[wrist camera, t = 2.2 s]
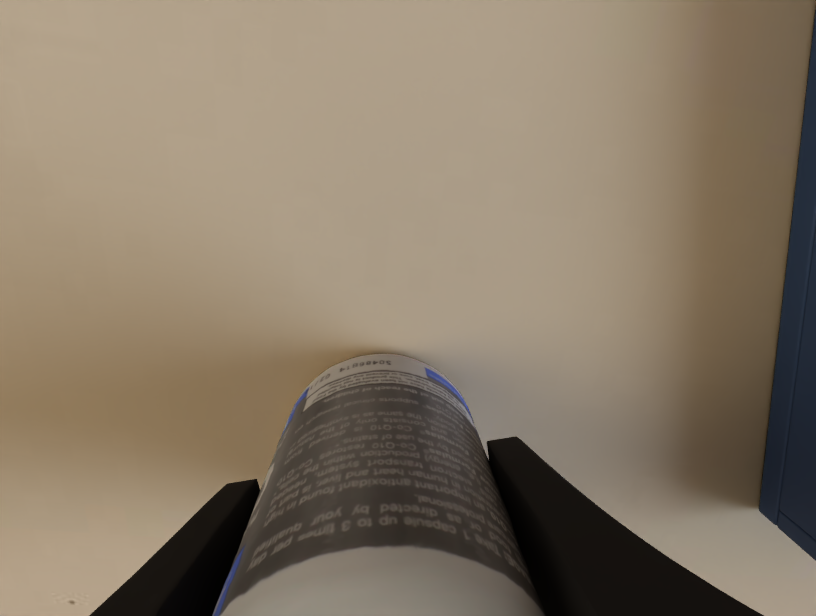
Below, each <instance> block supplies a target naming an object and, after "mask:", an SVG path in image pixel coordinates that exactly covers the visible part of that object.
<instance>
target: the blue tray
mask: <svg viewBox="0 0 816 616" xmlns="http://www.w3.org/2000/svg"><path fill="white" fill-rule="evenodd" d="M759 511H760V512H761V513H762V514H763V515H764V516H765V517H767V518H768V519H769V520H770V521H771V522H772V523H773V524H775V525H777V526H778V528H779V529H780V530H781V531H783V532H784V533H785V534H786V535H787V536H788V537H789V538H791V539H792V540H793V541H794V542H795V543H796V544H797V545H798V546H800V547H801V548H802V549H803V550H804V551H805V552H806V553H808V554H809V555H810V556H811V557H812V558H813V559H814V560H816V10H815V19H814V28H813V36H812V45H811V54H810V63H809V72H808V81H807V90H806V98H805V107H804V116H803V125H802V134H801V143H800V151H799V160H798V169H797V178H796V187H795V196H794V204H793V213H792V222H791V231H790V240H789V249H788V257H787V266H786V275H785V284H784V293H783V302H782V310H781V319H780V328H779V337H778V346H777V355H776V364H775V372H774V381H773V390H772V399H771V408H770V417H769V425H768V434H767V443H766V452H765V461H764V470H763V478H762V487H761V496H760V505H759Z"/></svg>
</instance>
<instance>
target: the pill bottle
mask: <svg viewBox="0 0 816 616" xmlns="http://www.w3.org/2000/svg"><path fill="white" fill-rule="evenodd" d="M212 616H546V614H545V612H544V609H543V606H542V604H541V601H540V599H539V597H538V594H537V592H536V589H535V587H534V584H533V582H532V580H531V576H530V573H529V569H528V566H527V564H526V561H525V559H524V557H523V554H522V552H521V550H520V547H519V544H518V541H517V538H516V535H515V532H514V529H513V525H512V522H511V518H510V516H509V513H508V511H507V508H506V506H505V503H504V501H503V499H502V497H501V494H500V490H499V487H498V484H497V482H496V480H495V477H494V475H493V472H492V468H491V465H490V462H489V460H488V458H487V456H486V453H485V450H484V448H483V446H482V443H481V440H480V438H479V435H478V433H477V430H476V428H475V425H474V422H473V419H472V417H471V414H470V412H469V409H468V407H467V405H466V403H465V401H464V399H463V397H462V395H461V394H460V392H459V391H458V390H457V388H456V387H455V386H454V385H453V384H452V383H451V382H450V381H449V380H448V379H447V378H446V377H445V376H444V375H443V374H442V373H440V372H439V371H438V370H436V369H434V368H433V367H431V366H429V365H427V364H425V363H423V362H421V361H418V360H416V359H413V358H409V357H406V356H402V355H395V354H373V355H364V356H359V357H355V358H352V359H349V360H346V361H343V362H341V363H338V364H336V365H334V366H332V367H330V368H328V369H327V370H325V371H324V372H323V373H321V374H320V375H319V376H318V377H317V378H316V379H314V380H313V381H312V382H311V383H310V384H309V385H308V386H307V388H306V389H305V390H304V391H303V393H302V394H301V395H300V397H299V399H298V400H297V402H296V403H295V405H294V407H293V409H292V412H291V414H290V416H289V418H288V420H287V423H286V425H285V428H284V431H283V434H282V436H281V439H280V441H279V443H278V445H277V450H276V452H275V455H274V457H273V460H272V463H271V465H270V467H269V470H268V473H267V475H266V477H265V480H264V482H263V485H262V488H261V490H260V493H259V496H258V498H257V501H256V504H255V507H254V510H253V512H252V515H251V517H250V520H249V523H248V526H247V529H246V531H245V533H244V535H243V538H242V541H241V544H240V547H239V550H238V552H237V554H236V557H235V559H234V561H233V564H232V567H231V570H230V572H229V575H228V577H227V579H226V581H225V584H224V586H223V589H222V591H221V594H220V596H219V599H218V602H217V604H216V607H215V609H214V612H213V614H212Z"/></svg>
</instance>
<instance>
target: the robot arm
mask: <svg viewBox="0 0 816 616" xmlns="http://www.w3.org/2000/svg"><path fill="white" fill-rule="evenodd" d="M487 446H488V455H489V462H490V465H491V468H492V472H493V475H494V477H495V480H496V482H497V484H498V487H499V490H500V494H501V497H502V499H503V501H504V503H505V506H506V508H507V511H508V513H509V516H510V518H511V522H512V525H513V529H514V532H515V535H516V538H517V541H518V544H519V547H520V550H521V552H522V554H523V557H524V559H525V561H526V564H527V566H528V569H529V573H530V576H531V580H532V582H533V584H534V587H535V589H536V592H537V594H538V597H539V599H540V601H541V604H542V606H543V609H544V612H545V614H546V616H764V615H762V614H760V613H758V612H756V611H755V610H753V609H751V608H749V607H748V606H746V605H744V604H742V603H741V602H739V601H737V600H736V599H734V598H732V597H731V596H729V595H727V594H726V593H724V592H722V591H721V590H719V589H717V588H716V587H714V586H712V585H711V584H709V583H708V582H706V581H705V580H703V579H701V578H700V577H698V576H697V575H695V574H694V573H692V572H690V571H689V570H687V569H686V568H684V567H683V566H681V565H679V564H678V563H676V562H675V561H673V560H672V559H670V558H669V557H667V556H666V555H664V554H663V553H661V552H660V551H658V550H657V549H655V548H654V547H653V546H651V545H650V544H648V543H647V542H645V541H644V540H643V539H641V538H640V537H638V536H637V535H636V534H634V533H633V532H632V531H630V530H629V529H628V528H626V527H625V526H623V525H622V524H621V523H619V522H618V521H617V520H615V519H614V518H613V517H611V516H610V515H609V514H608V513H606V512H605V511H604V510H602V509H601V508H600V507H599V506H597V505H596V504H595V503H594V502H592V501H591V500H590V499H589V498H587V497H586V496H585V495H584V494H582V493H581V492H580V491H579V490H577V489H576V488H575V487H574V486H573V485H571V484H570V483H569V482H568V481H567V480H565V479H564V478H563V477H562V476H561V475H560V474H558V473H557V472H556V471H555V470H554V469H553V468H552V467H550V466H549V465H548V464H547V463H546V462H545V461H544V460H543V459H541V458H540V457H539V456H538V455H537V454H536V453H535V452H534V451H533V450H532V449H530V448H529V447H528V446H527V445H526V444H525V443H524V442H523V441H522V440H520V439H519V438H518V437H510V438H503V439H497V440H491V441H487ZM259 493H260V488H259V485H258V482H257V479H254V480H247V481H241V482H235V483H229V484H226V485H225V486H224V487H223V488H222V489H221V490H220V491H219V492H218V493H216V494H215V495H214V496H213V497H212V498H211V499H210V500H209V501H208V502H207V503H206V504H205V505H204V506H203V507H202V508H201V509H200V510H199V511H198V512H197V513H196V514H195V515H194V516H193V517H192V518H191V519H190V520H189V521H188V522H187V523H186V524H185V525H184V526H183V527H182V528H181V529H180V530H179V531H178V532H177V533H176V534H175V535H174V536H173V537H172V538H171V539H170V540H169V541H168V542H167V543H166V544H165V545H164V546H163V547H162V548H161V549H160V550H158V551H157V552H156V553H155V554H154V555H153V556H152V557H151V558H150V559H149V560H148V561H147V562H146V563H145V564H144V565H143V566H142V567H141V568H140V569H139V570H138V571H137V572H136V573H135V574H134V575H133V576H132V577H131V578H130V579H129V580H127V581H126V582H125V583H124V584H123V585H122V586H121V587H120V588H119V589H118V590H117V591H116V592H114V593H113V594H112V595H111V596H110V597H109V598H108V599H107V600H106V601H105V602H104V603H103V604H101V605H100V606H99V607H98V608H97V609H96V610H95V611H94V612H93V613H92V614H91V615H90V616H212V614H213V612H214V609H215V607H216V604H217V602H218V599H219V596H220V594H221V591H222V589H223V586H224V584H225V581H226V579H227V577H228V575H229V572H230V570H231V567H232V564H233V561H234V559H235V557H236V554H237V552H238V550H239V547H240V544H241V541H242V538H243V535H244V533H245V531H246V529H247V526H248V523H249V520H250V517H251V515H252V512H253V510H254V507H255V504H256V501H257V498H258V496H259Z"/></svg>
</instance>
